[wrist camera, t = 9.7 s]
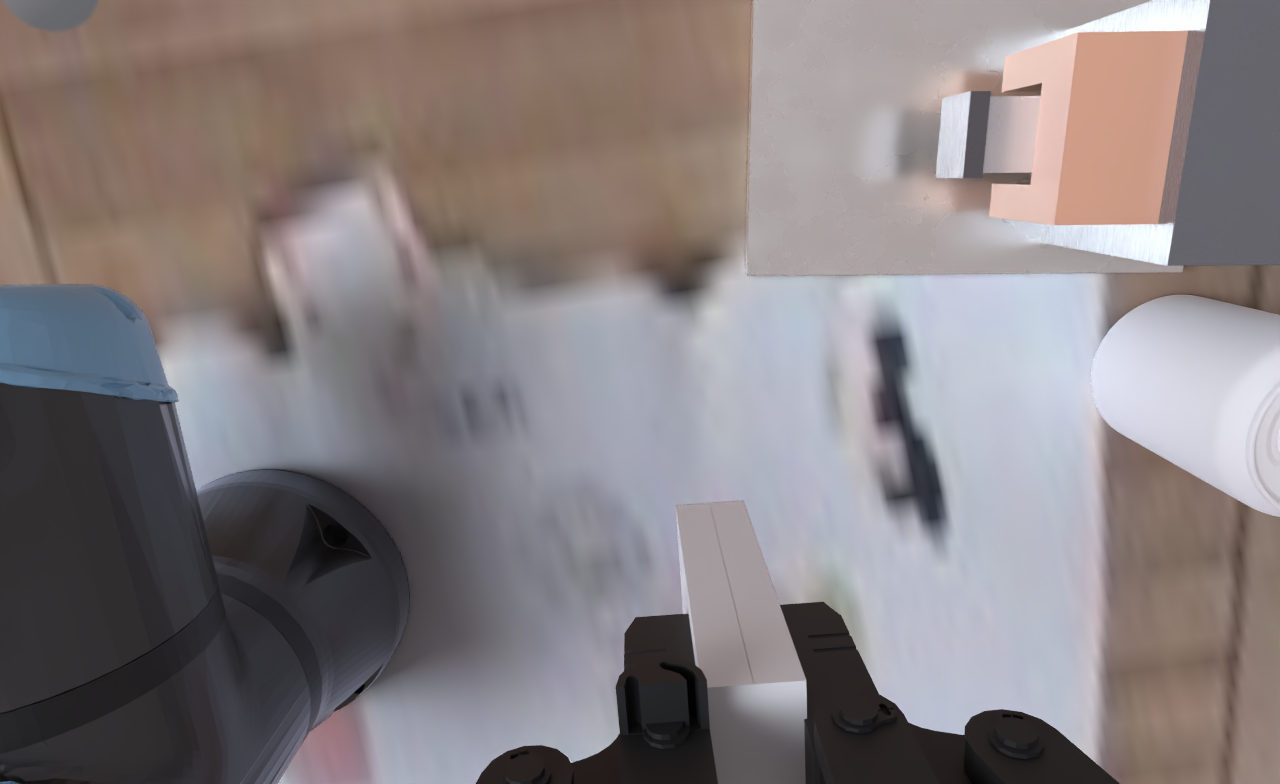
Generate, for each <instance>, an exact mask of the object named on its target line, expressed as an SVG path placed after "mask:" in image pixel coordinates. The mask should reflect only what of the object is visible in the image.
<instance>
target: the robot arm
mask: <svg viewBox="0 0 1280 784" xmlns="http://www.w3.org/2000/svg"><path fill="white" fill-rule="evenodd" d="M178 401H179V400H178V395H177V393H176V391H175V390H174V389H173V388H171V387H170V386H169V385H168V382H167V380H166V377H165V373H164V370H163V367H162V364H161V361H160V357H159V354H158V351H157V348H156V345H155V341H154V338H153V335H152V332H151V329H150V325H149V323H148V320H147V318H146V316H145V315H144V313H143V311H142V310H141V309H140V308H139V307H138V306H137V304H136V303H134V302H133V301H132V300H131V299H129V298H128V297H127V296H125V295H123V294H122V293H120V292H118V291H116V290H114V289H111V288H108V287H104V286H100V285H94V284H40V285H0V784H277V783H278V782H279V780H280V779H281V777H282V775H283V774H284V772H285V770H286V769H287V767H288V765H289V764H290V762H291V760H292V759H293V757H294V755H295V754H296V752H297V751H298V749H299V748H300V746H301V744H302V743H303V741H304V740H305V738H306V737H307V735H308V733H309V732H310V731H311V730H313V729H314V728H315V727H317V726H318V725H320V724H321V723H322V722H324V721H325V720H326V719H327V718H329V717H330V716H331V715H332V713H333V712H335V711H337V710H339V709H341V708H342V707H344V706H346V705H347V704H349V703H350V702H352V701H353V700H355V699H356V698H357V697H359V696H360V695H361V694H362V693H364V692H365V691H366V690H367V689H368V688H369V687H370V686H371V685H372V684H373V682H374V681H375V680H376V679H377V678H378V677H379V675H380V674H381V673H382V671H383V670H384V668H385V667H386V665H387V663H388V662H389V660H390V658H391V656H392V655H393V653H394V651H395V649H396V647H397V646H398V644H399V642H400V640H401V637H402V635H403V632H404V630H405V626H406V623H407V618H408V612H409V586H408V580H407V575H406V571H405V568H404V564H403V562H402V559H401V557H400V554H399V552H398V550H397V548H396V546H395V544H394V542H393V541H392V539H391V537H390V536H389V534H388V533H387V532H386V530H385V529H384V528H383V526H382V525H381V524H380V523H379V521H378V520H377V519H376V518H375V517H374V516H373V515H372V514H371V513H370V512H369V511H368V510H367V509H366V508H365V507H363V506H362V505H361V504H360V503H359V502H357V501H356V500H355V499H353V498H352V497H351V496H349V495H347V494H346V493H344V492H343V491H341V490H339V489H337V488H336V487H334V486H332V485H330V484H327V483H325V482H323V481H320V480H318V479H315V478H312V477H309V476H306V475H302V474H298V473H293V472H287V471H279V470H254V471H246V472H240V473H236V474H232V475H228V476H226V477H223V478H220V479H218V480H215V481H213V482H211V483H209V484H207V485H205V486H204V487H202V488H201V489H199V490H198V491H196V489H195V485H194V480H193V476H192V472H191V468H190V464H189V460H188V456H187V452H186V448H185V444H184V439H183V435H182V431H181V427H180V423H179V419H178V415H177V411H176V407H175V402H178ZM676 517H677V532H678V547H679V562H680V578H681V593H682V608H683V614H676V615H662V616H648V617H636V618H635V619H634V621H633V622H632V624H631V625H630V626H629V628H628V629H627V631H626V632H625V647H624V651H625V654H624V668H625V669H624V672H623V673H622V674H621V675H620V676H619V679H618V682H617V685H616V694H617V705H618V716H619V726H620V734H619V735H618V737H617V739H616V740H615V741H614V742H613V743H612V744H611V745H610V746H609V747H607V748H605V749H604V750H602V751H601V752H599V753H598V754H595V755H593V756H590V757H588V758H586V759H583V760H580V761H576V762H573V763H570V761H569V759H568V757H567V756H565V755H564V754H563V753H561V752H560V751H559V750H557V749H554V748H550V747H546V746H542V745H538V746H523V747H520V748H517V749H513V750H510V751H507V752H505V753H504V754H502V755H501V756H499V757H497V758H496V759H494V760H493V761H492V762H491V763H490V764H489V765H488V766H487V767H486V769H485V770H484V771H483V772H482V773H481V775H480V777H479V779H478V781H477V782H476V784H1119V783H1118V782H1117V781H1116V780H1115V779H1114V778H1112V777H1111V776H1110V775H1109V774H1108V773H1107V772H1105V771H1104V770H1103V769H1102V768H1101V767H1100V766H1098V765H1097V764H1096V763H1095V762H1094V761H1093V760H1091V759H1090V758H1089V757H1088V756H1087V755H1086V754H1084V753H1083V752H1082V751H1081V750H1080V749H1079V748H1077V747H1076V746H1075V745H1074V744H1073V743H1072V742H1070V741H1069V740H1068V739H1067V738H1066V737H1065V736H1064V735H1062V734H1061V733H1060V732H1059V731H1058V730H1057V729H1055V728H1053V727H1052V726H1050V725H1049V724H1047V723H1046V722H1044V721H1043V720H1041V719H1039V718H1036V717H1033V716H1031V715H1028V714H1025V713H1022V712H1017V711H1010V710H1003V709H1001V710H991V711H984V712H982V713H980V714H977V715H975V716H973V717H971V719H970V720H969V722H968V723H967V725H966V726H965V735H958V734H952V733H945V732H938V731H933V730H929V729H924V728H921V727H918V726H915V725H913V724H910V723H908V722H907V720H906V718H905V716H904V714H903V713H902V712H901V710H900V709H899V708H898V707H897V706H896V704H895V703H893V702H891V701H890V700H888V699H886V698H884V697H883V696H881V695H879V693H878V691H877V689H876V687H875V685H874V683H873V681H872V679H871V677H870V675H869V673H868V671H867V669H866V667H865V664H864V662H863V660H862V658H861V656H860V654H859V652H858V650H856V646H855V644H854V642H853V640H852V637H851V636H850V635H849V631H848V629H847V627H846V625H845V623H844V621H843V619H842V617H841V615H839V614H838V613H837V612H835V611H834V610H833V609H832V608H830V607H829V606H828V605H826V604H825V603H824V602H815V603H801V604H787V605H780V604H779V601H778V598H777V596H776V593H775V590H774V587H773V584H772V581H771V578H770V576H769V573H768V570H767V567H766V564H765V561H764V558H763V556H762V553H761V550H760V547H759V544H758V541H757V539H756V536H755V533H754V530H753V527H752V524H751V521H750V519H749V516H748V513H747V510H746V507H745V504H744V502H743V500H742V501H729V502H715V503H701V504H688V505H676Z"/></svg>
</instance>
